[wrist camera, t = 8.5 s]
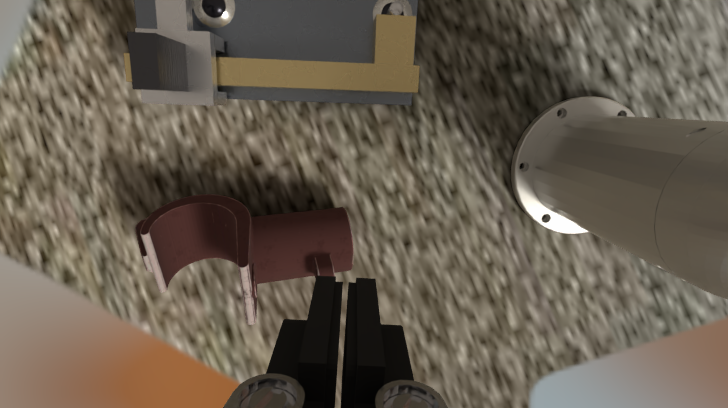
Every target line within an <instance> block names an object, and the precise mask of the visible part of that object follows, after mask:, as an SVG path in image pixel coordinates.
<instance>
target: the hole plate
mask: <svg viewBox="0 0 728 408" xmlns="http://www.w3.org/2000/svg"><path fill="white" fill-rule="evenodd" d="M194 1H195V7H194V8H193V9H192V20H193V31H208V32H211V33H213V34H215V35H217V36H219V37H220V38H222V39H224V51H225V53H216V57H230V58H253V59H277V60H300V61H323V62H347V63H370V64H372V50H373V23H374V19H375V16H376V14H383V15H386V13H387V11H388V9H389V7H390V5H391V4H392V2H394V1H400V2H401V3H402V4H403V7H404V9H403V12H402V13H401V15H402V16H416V23H417V7H418V0H194ZM134 3H135V13H136V24H137V28H144V29H158V28H157V16H156V4H155V0H134ZM415 39H416V30H415ZM414 56H415V46H414ZM413 65H414V62H413ZM217 89H218V92H226V93H227V99H250V100H278V101H306V102H335V103H363V104H391V105H411V104H412V93H398V92H371V91H345V90H318V89H292V88H265V87H239V86H217Z"/></svg>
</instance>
